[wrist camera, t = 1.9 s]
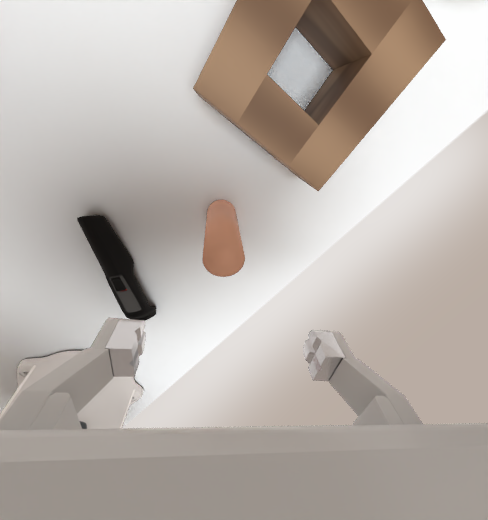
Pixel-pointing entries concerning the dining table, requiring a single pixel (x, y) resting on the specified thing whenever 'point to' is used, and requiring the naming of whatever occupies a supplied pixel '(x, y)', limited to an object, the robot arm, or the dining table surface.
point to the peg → (222, 240)
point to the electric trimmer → (116, 267)
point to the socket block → (336, 85)
